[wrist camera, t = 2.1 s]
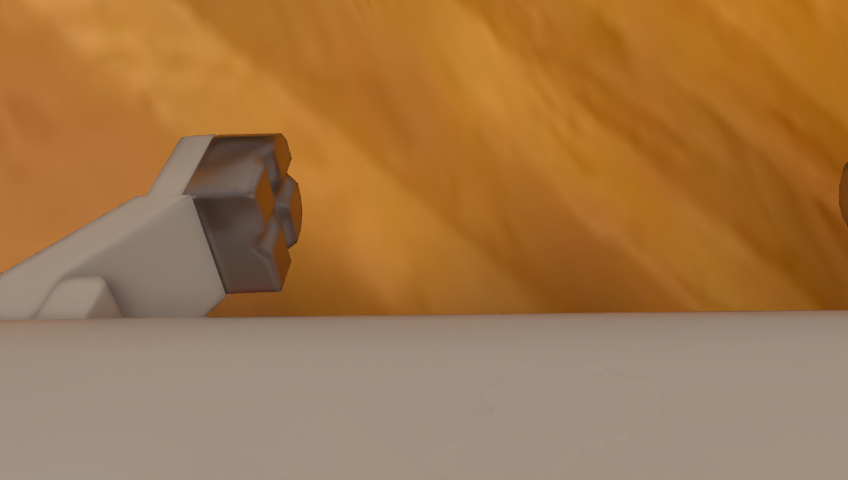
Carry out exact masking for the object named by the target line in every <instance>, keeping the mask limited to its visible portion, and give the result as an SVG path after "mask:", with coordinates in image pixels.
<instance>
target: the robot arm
mask: <svg viewBox="0 0 848 480" xmlns="http://www.w3.org/2000/svg"><path fill="white" fill-rule="evenodd" d="M291 159H292V158H291V154H290V151H289V147H288V143H287V140H286V138H285V137H284V136H283V135H282V134H281V133H275V134H228V135H215V134H212V135H196V136H186V137H182V138H181V139H180V140H179V142H178V143H177V145H176V147H175V148H174V150H173V152H172V153H171V155H170V157H169V158H168V160H167V161H166V163H165V165H164V166H163V168H162V170H161V171H160V173H159V175H158V176H157V178H156V180H155V181H154V183H153V184H152V186H151V188H150V189H149V191H148V193H147V194H146V196H135V197H134V198H132V199H130V200H128V201H127V202H125V203H123V204H121V205H120V206H118V207H116V208H114V209H113V210H111V211H109V212H107V213H106V214H104V215H102V216H101V217H99V218H97V219H95V220H94V221H92V222H90V223H88V224H87V225H85V226H83V227H81V228H80V229H78V230H76V231H74V232H73V233H71V234H69V235H67V236H66V237H64V238H62V239H60V240H59V241H57V242H55V243H53V244H52V245H50V246H48V247H47V248H45V249H43V250H41V251H40V252H38V253H36V254H34V255H33V256H31V257H29V258H27V259H26V260H24V261H22V262H20V263H19V264H17V265H15V266H13V267H12V268H10V269H8V270H6V271H5V272H3V273H1V274H0V480H848V310H782V311H698V312H613V313H527V314H441V315H356V316H270V317H205V316H206V315H207V314H208V313H209V312H210V311H211V310H213V309H214V308H215V307H216V306H217V305H218V304H219V303H220V302H221V301H222V300H223V299H224V298H225V297H226V294H233V293H256V292H280V291H282V288H283V285H284V282H285V279H286V276H287V273H288V270H289V267H290V263H291V259H290V255H289V251H288V249H289V248H290V247H292V246H293V245H294V244H295V243H297V242H298V238H299V235H300V231H301V223H302V204H301V196H300V191H299V187H298V183H297V182H296V181H295V180H294V179H293V178H292V177H291V176H289V175H288V174H287V170H288V167H289V165H290V162H291ZM839 205H840V209H841V213H842V217H843V219H844V221H845V223H846V225H847V227H848V162H847V163H846V164H845V165H844V169H843V173H842V177H841V180H840V184H839Z"/></svg>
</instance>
